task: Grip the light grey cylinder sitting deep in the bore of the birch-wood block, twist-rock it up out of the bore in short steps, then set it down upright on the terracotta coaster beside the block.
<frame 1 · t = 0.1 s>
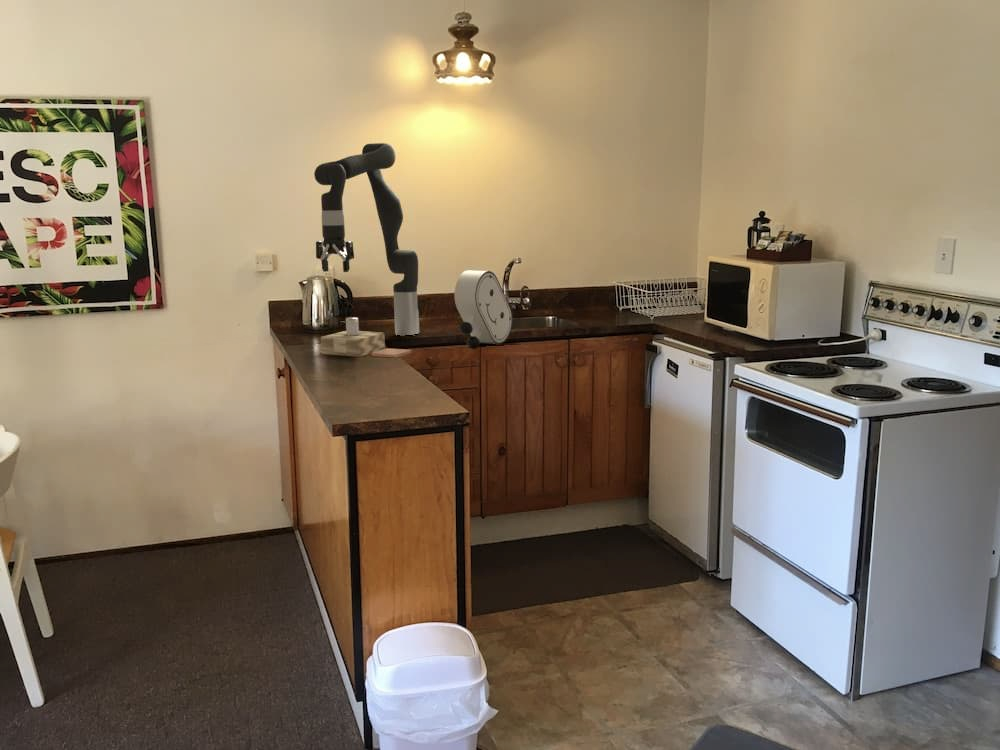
hand: (335, 271, 299), 29 cm above the counter, fingers open, 8 cm apart
bore block: (353, 351, 309), on the counter
coaster: (391, 354, 302), on the counter
light grey cylinder: (353, 348, 308), point 1 cm above the counter, touching bore block
robot: (483, 346, 316), on the counter
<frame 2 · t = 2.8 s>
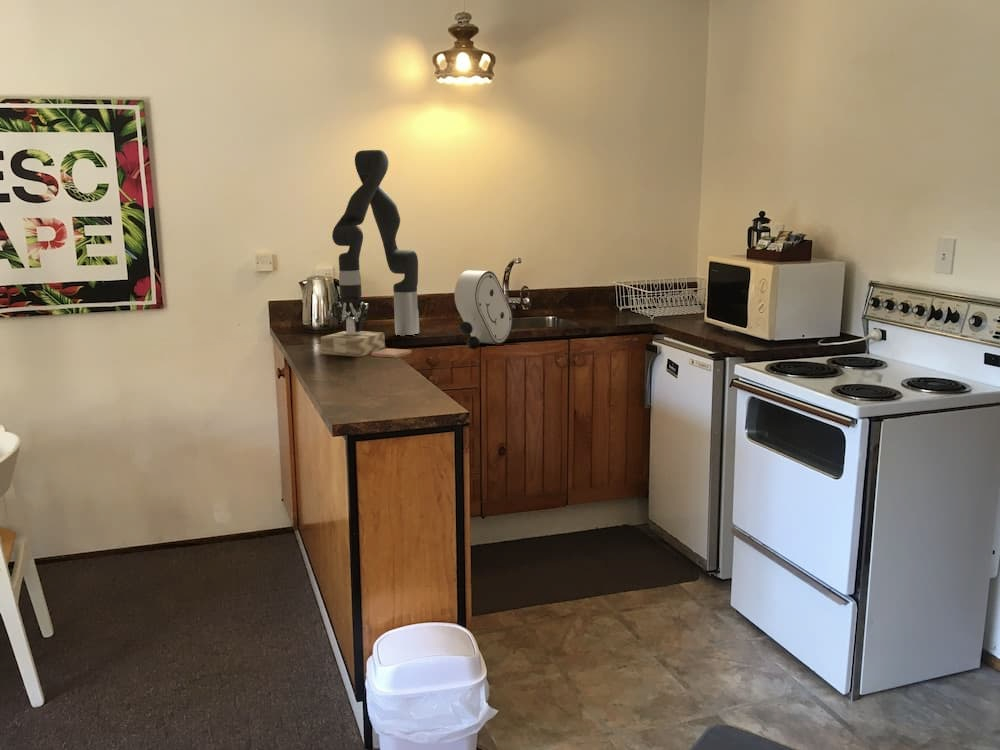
hand: (352, 331, 307), 7 cm above the counter, fingers closed on light grey cylinder, 4 cm apart
light grey cylinder: (353, 348, 308), point 1 cm above the counter, touching bore block, gripper
everything else where it was.
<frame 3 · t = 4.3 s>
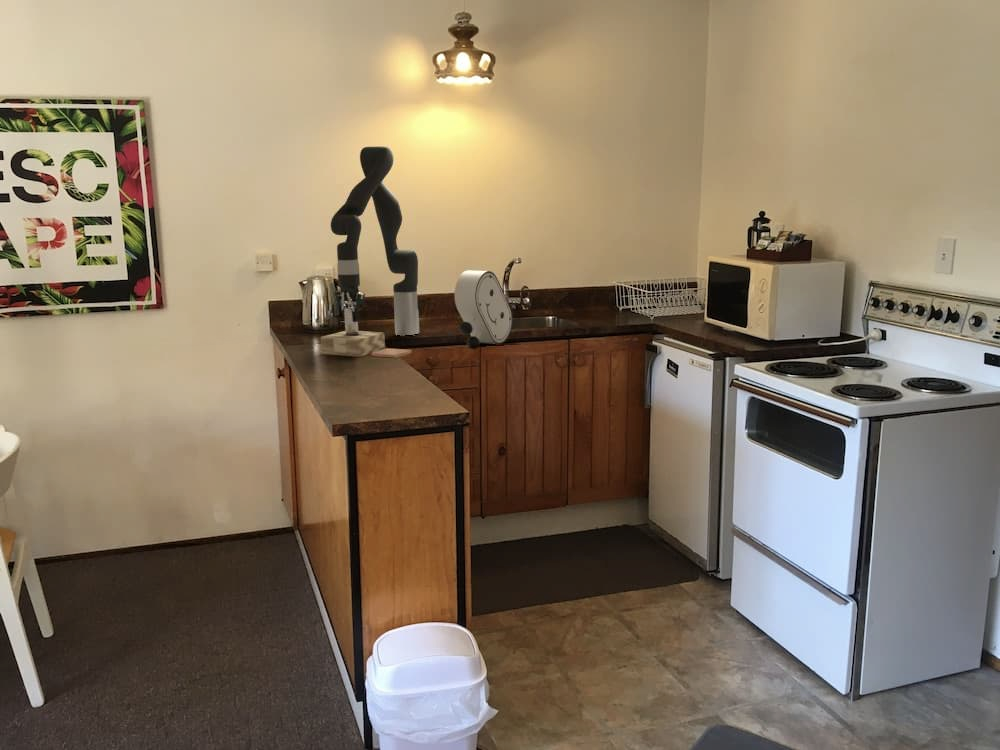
hand: (351, 320, 307), 11 cm above the counter, fingers closed on light grey cylinder, 4 cm apart
light grey cylinder: (352, 338, 308), point 5 cm above the counter, touching gripper
everything else where it was.
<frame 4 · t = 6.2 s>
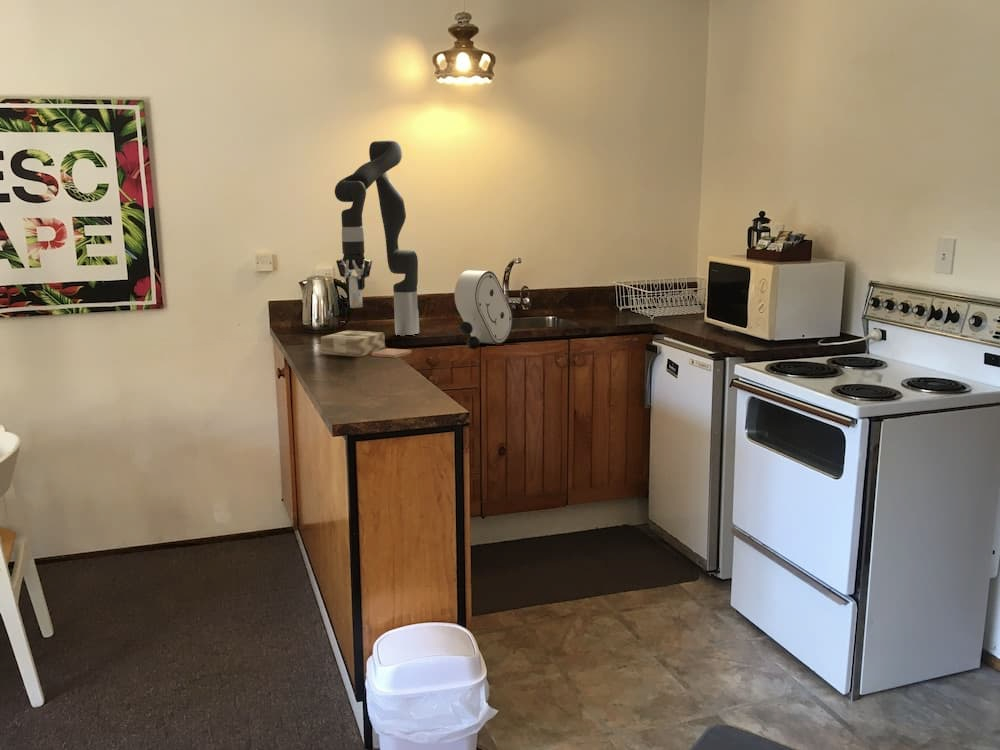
hand: (355, 289, 303), 22 cm above the counter, fingers closed on light grey cylinder, 4 cm apart
light grey cylinder: (356, 307, 304), point 16 cm above the counter, touching gripper
everything else where it was.
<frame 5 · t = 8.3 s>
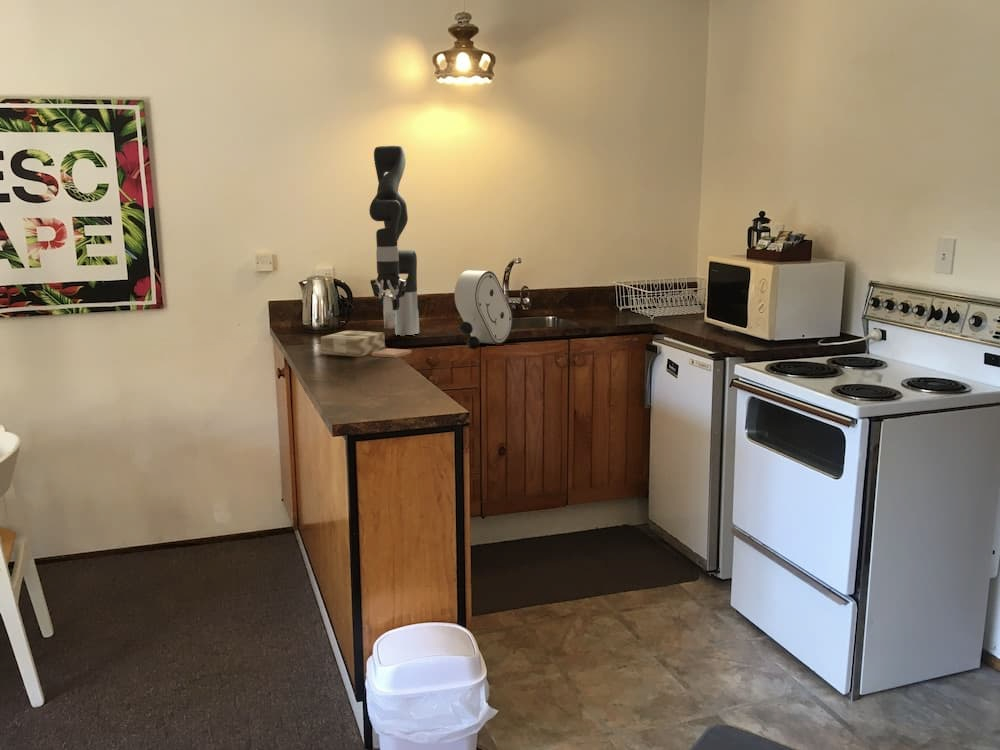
hand: (389, 309, 299), 16 cm above the counter, fingers closed on light grey cylinder, 4 cm apart
light grey cylinder: (390, 327, 300), point 9 cm above the counter, touching gripper
everything else where it was.
when the fingers open (10 cm above the counter, at t = 9.8 s): light grey cylinder drops 2 cm, resting on coaster.
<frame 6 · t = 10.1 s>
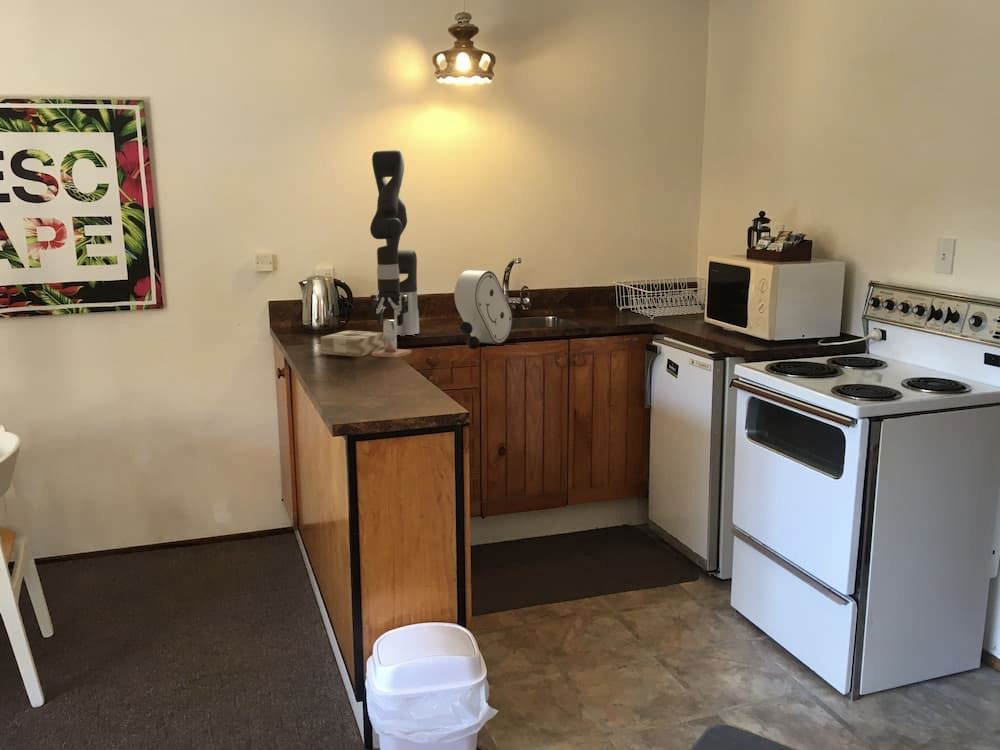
hand: (390, 324, 300), 10 cm above the counter, fingers open, 7 cm apart
light grey cylinder: (390, 351, 302), point 1 cm above the counter, touching coaster
everything else where it was.
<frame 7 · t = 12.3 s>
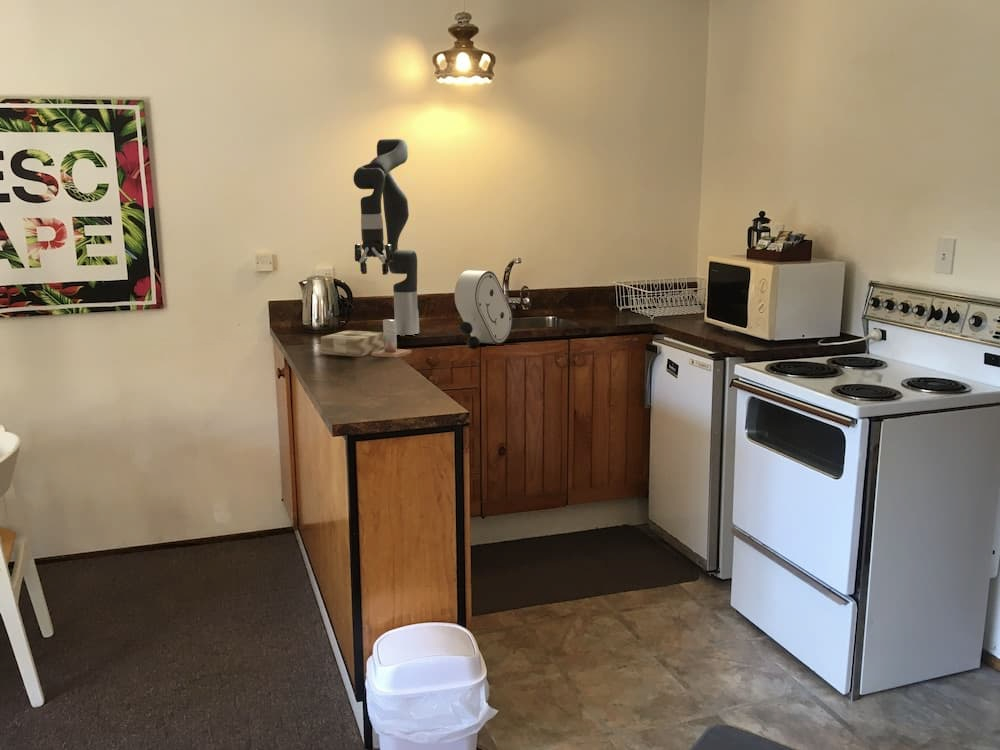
hand: (374, 274, 303), 27 cm above the counter, fingers open, 8 cm apart
nothing on the counter moved.
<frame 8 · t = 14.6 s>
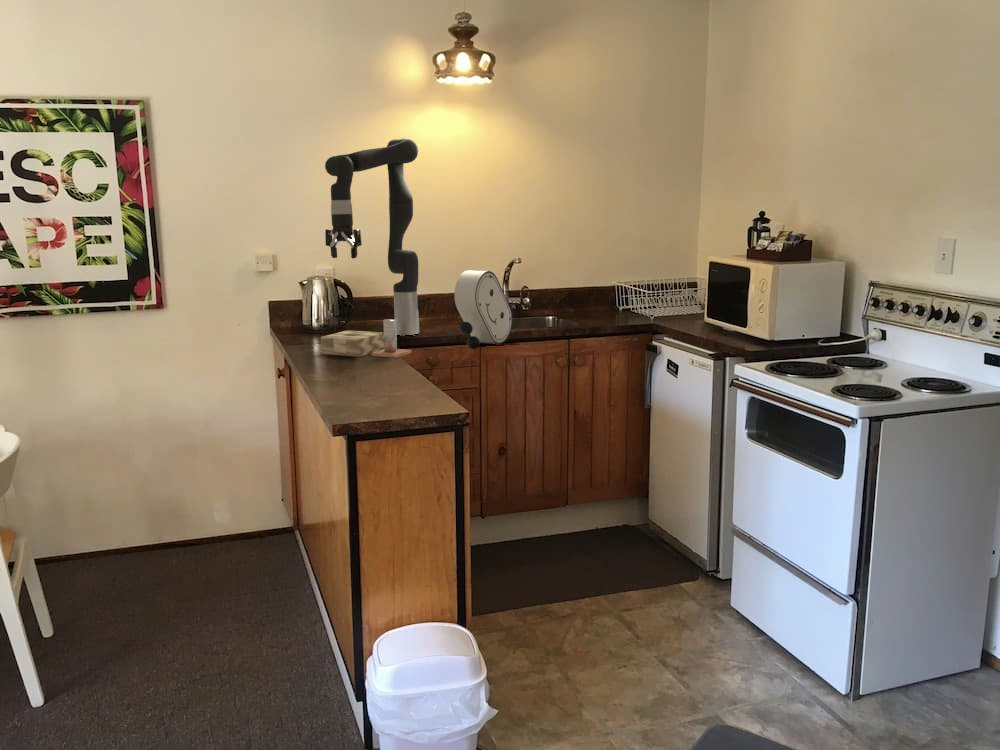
hand: (344, 258, 316), 32 cm above the counter, fingers open, 8 cm apart
nothing on the counter moved.
at the end: light grey cylinder inside the target area on the coaster (0.3 cm from its centre), point 1.0 cm above the coaster's base; light grey cylinder tilted 1°; the gripper is holding nothing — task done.
